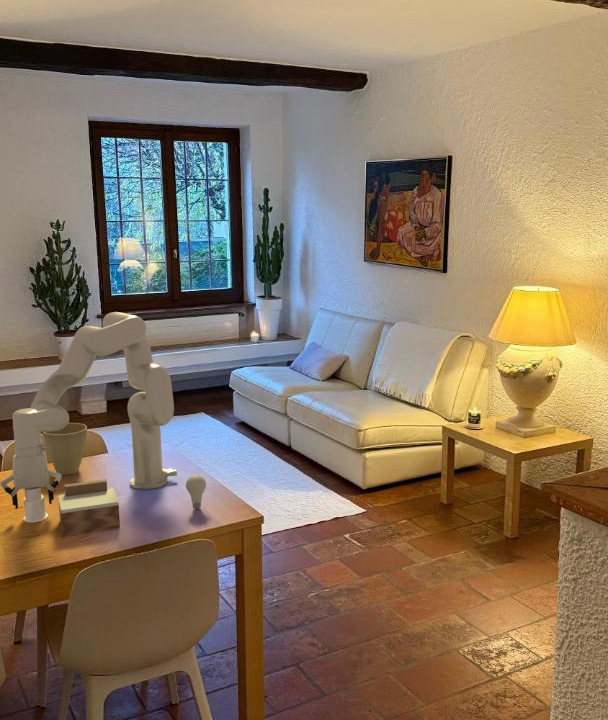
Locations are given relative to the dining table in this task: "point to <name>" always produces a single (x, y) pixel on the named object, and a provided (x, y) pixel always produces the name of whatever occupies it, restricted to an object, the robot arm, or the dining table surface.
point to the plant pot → (66, 447)
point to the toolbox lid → (87, 496)
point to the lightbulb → (196, 489)
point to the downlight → (34, 505)
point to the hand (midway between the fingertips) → (33, 504)
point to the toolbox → (89, 520)
